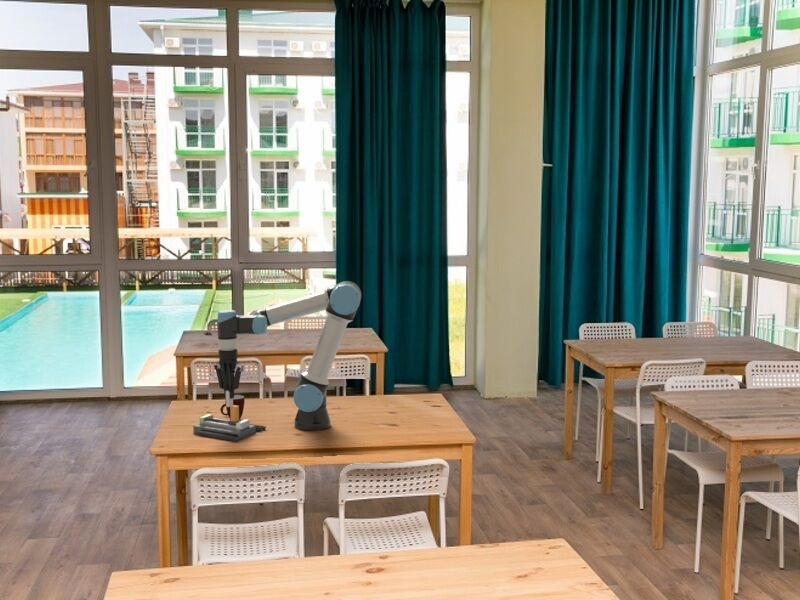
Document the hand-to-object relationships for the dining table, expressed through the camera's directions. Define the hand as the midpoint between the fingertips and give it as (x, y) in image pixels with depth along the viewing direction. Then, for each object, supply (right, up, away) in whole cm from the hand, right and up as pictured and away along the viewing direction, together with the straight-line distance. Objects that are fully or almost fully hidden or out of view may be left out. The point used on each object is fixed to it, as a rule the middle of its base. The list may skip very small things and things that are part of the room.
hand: (229, 406), depth 355 cm
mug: (-3, -9, +22) cm, 24 cm away
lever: (+2, -8, 0) cm, 8 cm away
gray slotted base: (-3, -11, +2) cm, 12 cm away
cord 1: (-4, -12, -5) cm, 14 cm away
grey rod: (+1, -10, +10) cm, 15 cm away
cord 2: (+2, -10, +12) cm, 16 cm away
